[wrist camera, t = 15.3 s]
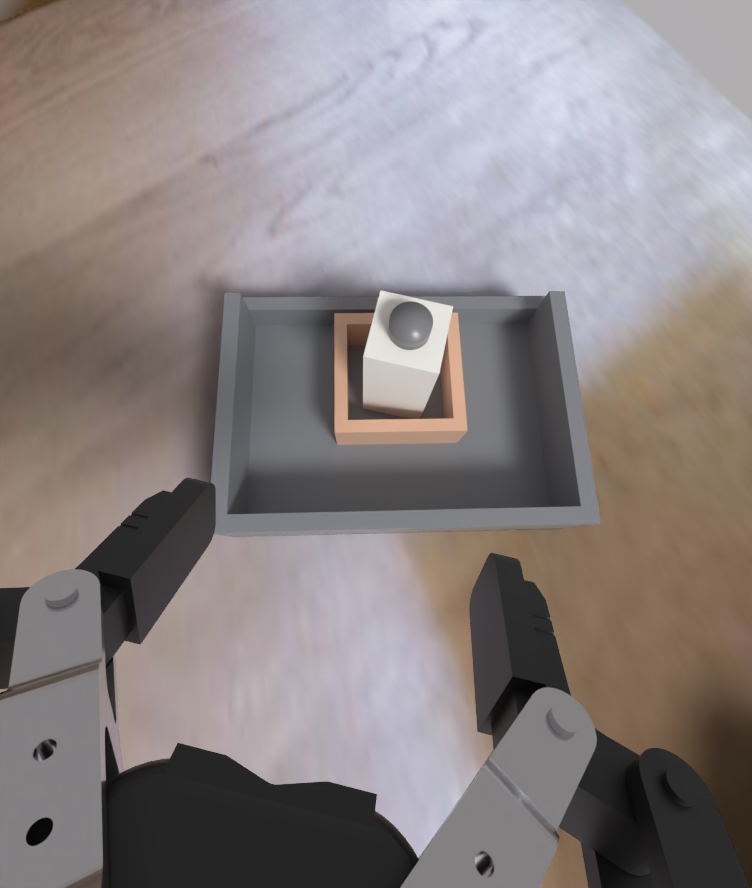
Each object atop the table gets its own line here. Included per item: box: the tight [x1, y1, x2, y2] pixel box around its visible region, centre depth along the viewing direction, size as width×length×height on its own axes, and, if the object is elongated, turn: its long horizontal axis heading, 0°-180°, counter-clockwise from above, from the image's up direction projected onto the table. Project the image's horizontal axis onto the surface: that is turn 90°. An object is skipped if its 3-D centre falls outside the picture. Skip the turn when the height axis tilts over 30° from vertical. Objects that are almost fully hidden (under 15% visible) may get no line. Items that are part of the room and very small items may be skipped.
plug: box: [363, 290, 453, 419], centre depth 25 cm, size 4×4×9 cm
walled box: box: [211, 291, 601, 537], centre depth 28 cm, size 22×16×5 cm
